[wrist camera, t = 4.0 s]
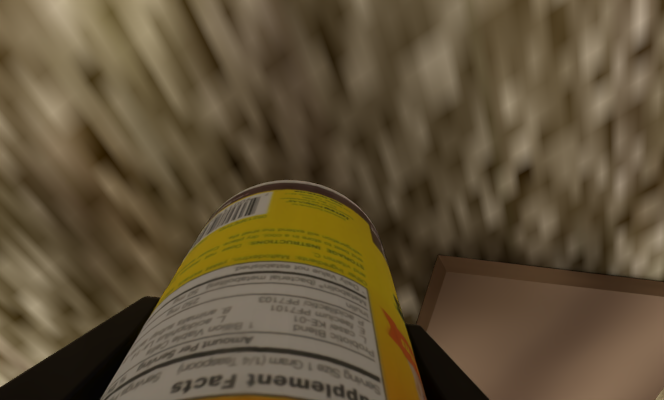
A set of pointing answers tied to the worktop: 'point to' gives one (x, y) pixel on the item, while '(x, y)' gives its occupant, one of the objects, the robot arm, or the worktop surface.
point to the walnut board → (547, 330)
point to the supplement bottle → (277, 308)
